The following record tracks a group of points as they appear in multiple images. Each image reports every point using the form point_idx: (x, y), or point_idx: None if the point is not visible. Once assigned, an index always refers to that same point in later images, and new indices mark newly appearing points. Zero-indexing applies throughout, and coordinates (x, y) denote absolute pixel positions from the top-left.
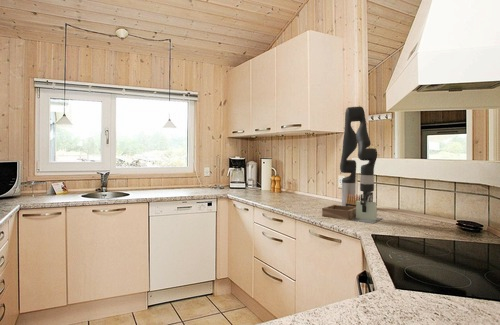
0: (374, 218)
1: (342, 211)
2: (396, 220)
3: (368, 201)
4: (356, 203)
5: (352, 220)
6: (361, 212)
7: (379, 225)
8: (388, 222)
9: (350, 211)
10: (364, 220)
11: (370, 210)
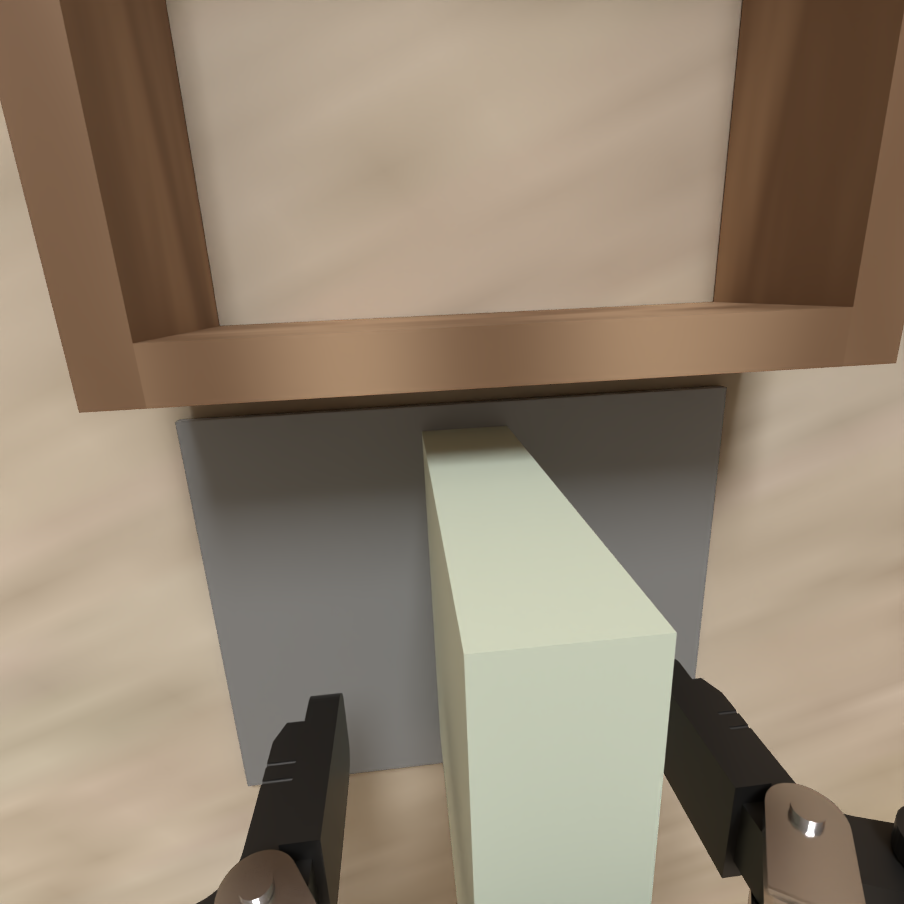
0: (442, 755)
1: (47, 207)
2: (684, 869)
3: (831, 886)
4: (451, 603)
5: (185, 465)
6: (437, 598)
7: (202, 868)
8: None
9: (260, 395)
10: (326, 626)
11: (453, 827)
